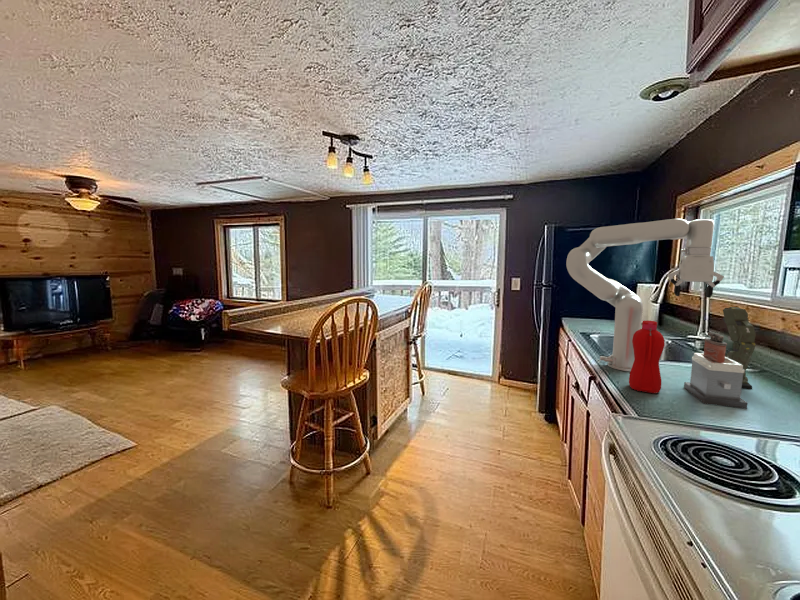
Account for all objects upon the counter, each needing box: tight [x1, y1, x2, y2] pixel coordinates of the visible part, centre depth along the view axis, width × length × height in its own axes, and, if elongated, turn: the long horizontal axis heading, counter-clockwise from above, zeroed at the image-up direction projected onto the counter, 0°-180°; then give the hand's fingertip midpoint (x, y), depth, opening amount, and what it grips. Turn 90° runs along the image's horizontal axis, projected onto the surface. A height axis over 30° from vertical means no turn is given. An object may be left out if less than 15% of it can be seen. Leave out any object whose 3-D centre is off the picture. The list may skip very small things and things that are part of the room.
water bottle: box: [628, 320, 665, 394], centre depth 127 cm, size 9×11×25 cm
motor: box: [683, 352, 749, 409], centre depth 121 cm, size 11×16×14 cm
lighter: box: [703, 331, 728, 363], centre depth 120 cm, size 8×3×10 cm, turn 172°
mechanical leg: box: [722, 306, 756, 390], centre depth 134 cm, size 14×7×30 cm, turn 168°
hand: (692, 296), depth 139 cm, fingers open, 9 cm apart
